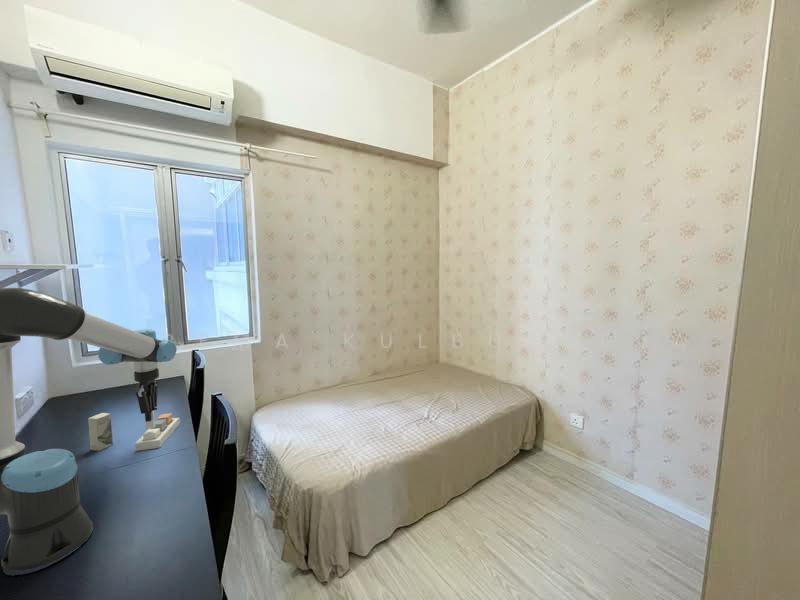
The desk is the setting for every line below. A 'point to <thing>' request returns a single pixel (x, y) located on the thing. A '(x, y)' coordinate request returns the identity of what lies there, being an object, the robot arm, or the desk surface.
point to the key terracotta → (165, 417)
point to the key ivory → (151, 434)
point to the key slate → (160, 424)
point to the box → (100, 431)
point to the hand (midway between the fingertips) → (150, 427)
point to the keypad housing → (161, 439)
